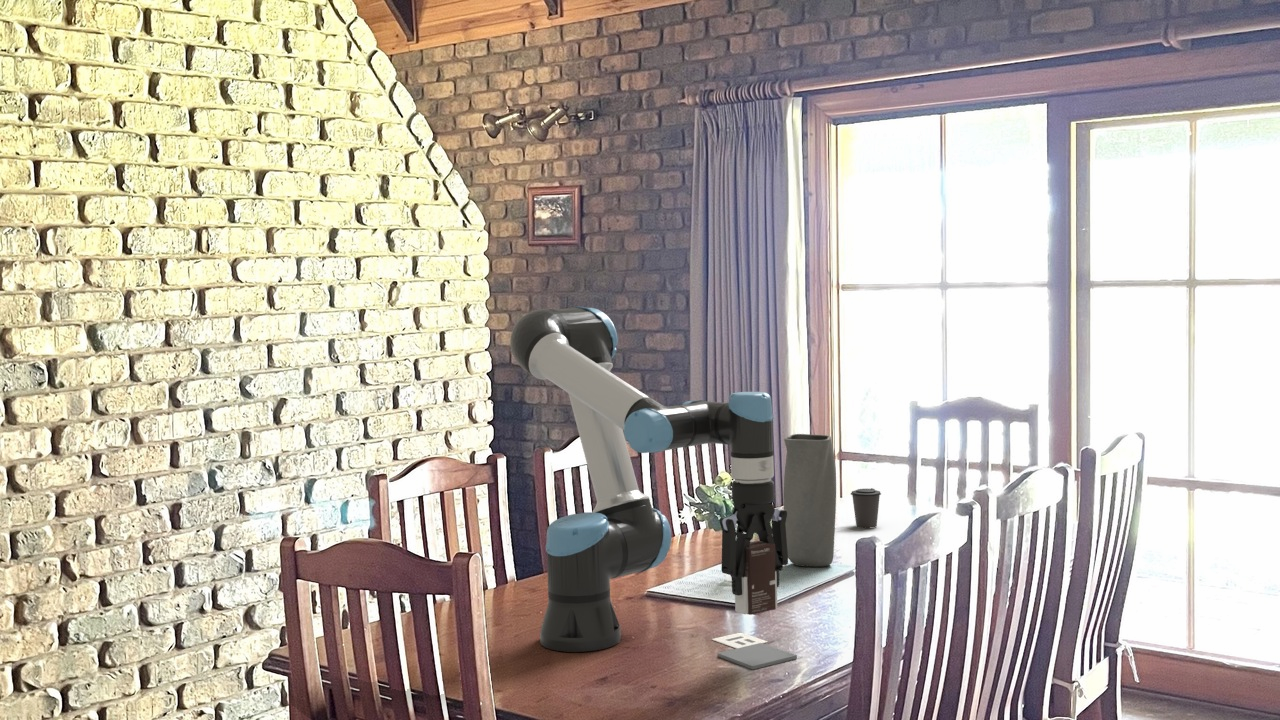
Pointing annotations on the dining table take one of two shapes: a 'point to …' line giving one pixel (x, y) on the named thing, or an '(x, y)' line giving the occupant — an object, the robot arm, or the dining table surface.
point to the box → (760, 576)
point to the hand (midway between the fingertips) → (756, 609)
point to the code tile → (739, 640)
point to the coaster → (757, 656)
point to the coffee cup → (866, 507)
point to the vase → (810, 499)
